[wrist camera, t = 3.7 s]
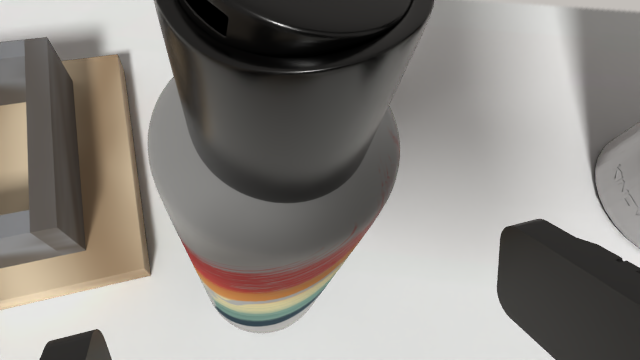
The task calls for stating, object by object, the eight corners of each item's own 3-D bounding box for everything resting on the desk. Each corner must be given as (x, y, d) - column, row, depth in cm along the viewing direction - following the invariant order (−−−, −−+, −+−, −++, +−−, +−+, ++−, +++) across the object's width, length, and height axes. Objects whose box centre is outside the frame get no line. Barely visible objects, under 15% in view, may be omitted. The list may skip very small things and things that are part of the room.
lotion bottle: (187, 264, 23) (-43, -152, 5) (277, 207, 25) (339, -238, 7) (247, 359, 22) (223, 239, 4) (338, 290, 24) (611, -6, 6)
